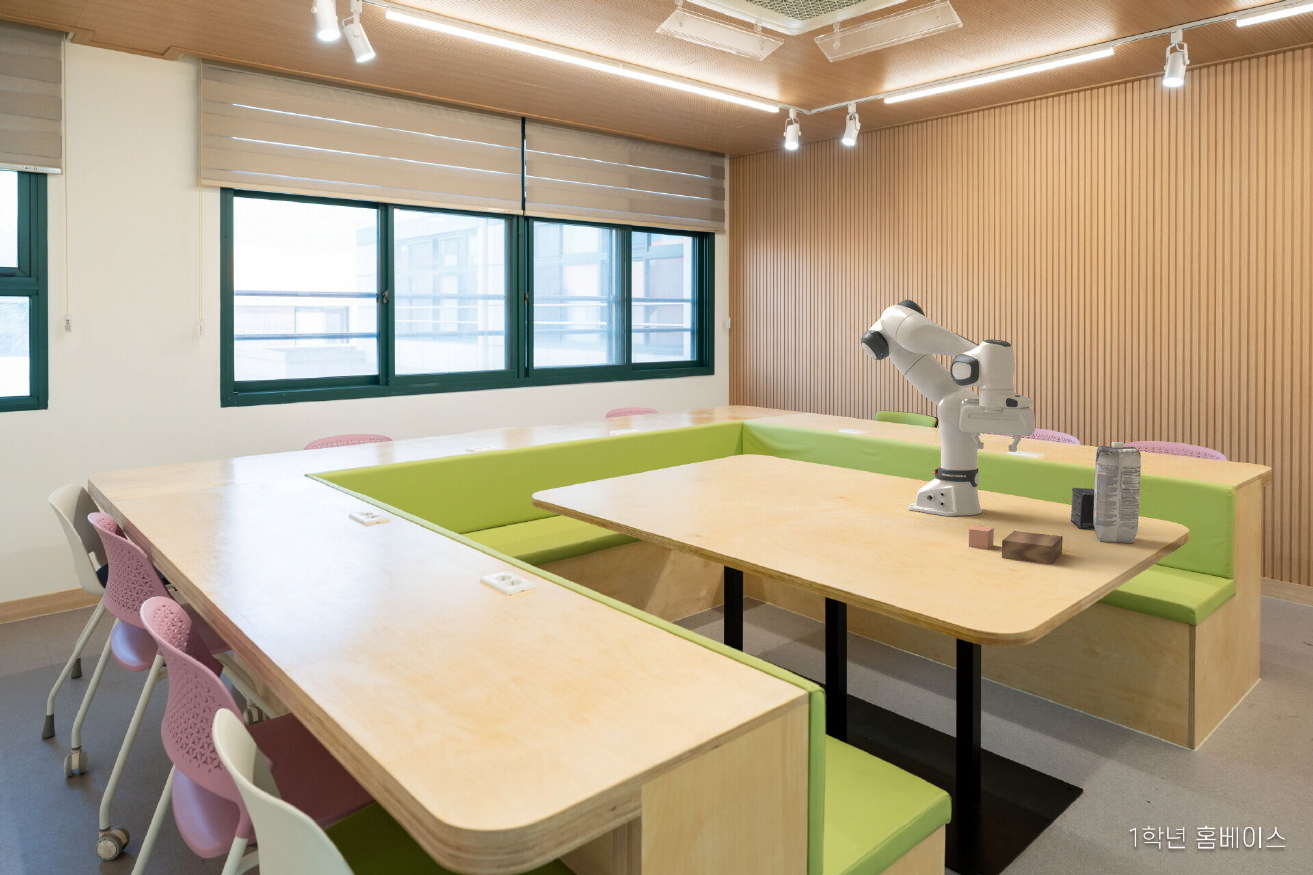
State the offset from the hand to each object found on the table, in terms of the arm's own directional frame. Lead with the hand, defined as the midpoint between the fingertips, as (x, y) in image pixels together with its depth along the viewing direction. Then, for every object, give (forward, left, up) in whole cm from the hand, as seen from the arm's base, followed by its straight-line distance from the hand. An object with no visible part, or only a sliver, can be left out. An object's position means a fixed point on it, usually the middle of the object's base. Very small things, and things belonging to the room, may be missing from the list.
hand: (995, 450), depth 235 cm
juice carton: (+26, +20, -26) cm, 42 cm away
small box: (+16, +34, -26) cm, 46 cm away
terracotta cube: (-2, -6, -26) cm, 27 cm away
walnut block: (+12, -9, -26) cm, 30 cm away
